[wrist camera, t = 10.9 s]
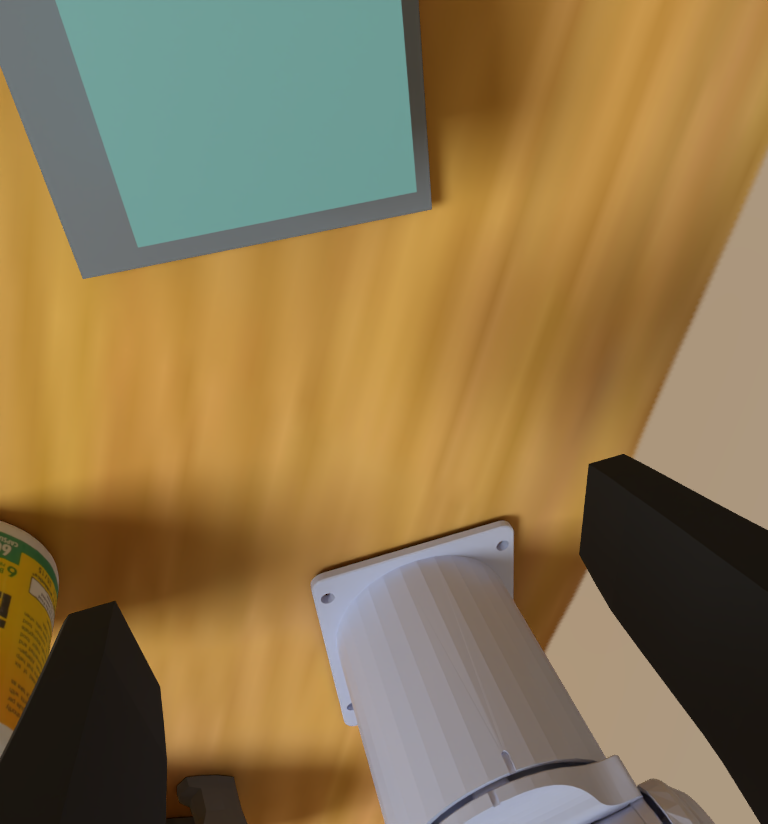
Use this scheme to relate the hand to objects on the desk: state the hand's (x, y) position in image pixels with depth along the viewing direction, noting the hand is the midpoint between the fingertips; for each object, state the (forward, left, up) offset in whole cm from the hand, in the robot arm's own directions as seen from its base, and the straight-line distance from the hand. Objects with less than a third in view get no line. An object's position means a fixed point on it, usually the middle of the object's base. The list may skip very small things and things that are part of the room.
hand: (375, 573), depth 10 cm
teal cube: (+7, 0, -10) cm, 12 cm away
